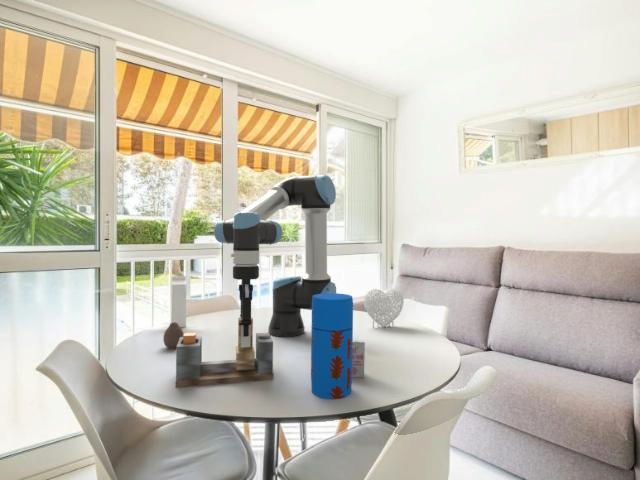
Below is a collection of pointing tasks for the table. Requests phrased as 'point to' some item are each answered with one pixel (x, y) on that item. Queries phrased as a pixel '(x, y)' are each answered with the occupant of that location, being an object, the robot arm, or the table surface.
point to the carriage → (245, 351)
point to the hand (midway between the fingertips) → (245, 344)
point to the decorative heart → (383, 306)
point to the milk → (178, 300)
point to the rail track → (225, 378)
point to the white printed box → (358, 360)
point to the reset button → (189, 338)
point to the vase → (172, 335)
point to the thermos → (331, 345)
